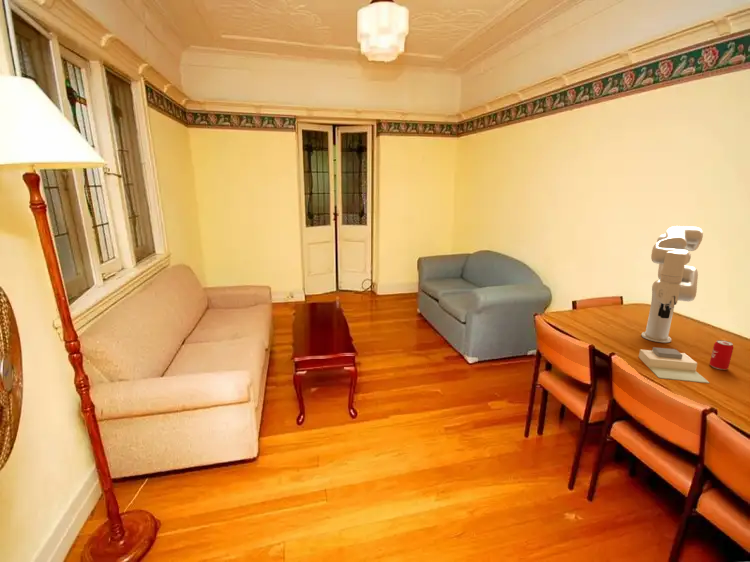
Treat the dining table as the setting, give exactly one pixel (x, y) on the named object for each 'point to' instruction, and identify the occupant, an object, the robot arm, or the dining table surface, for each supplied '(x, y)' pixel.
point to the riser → (667, 361)
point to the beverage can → (721, 354)
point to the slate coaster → (667, 353)
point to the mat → (678, 374)
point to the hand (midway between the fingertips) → (663, 316)
